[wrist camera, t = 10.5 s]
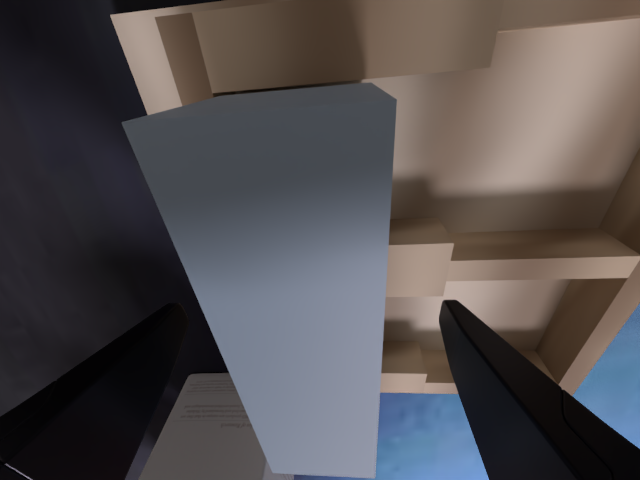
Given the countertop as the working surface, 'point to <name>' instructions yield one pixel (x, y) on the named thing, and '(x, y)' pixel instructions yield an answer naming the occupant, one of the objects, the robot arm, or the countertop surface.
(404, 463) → the countertop surface
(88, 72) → the countertop surface
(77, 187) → the countertop surface
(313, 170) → the grey rectangular block
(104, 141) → the countertop surface
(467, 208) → the divided wooden tray
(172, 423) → the supplement box
